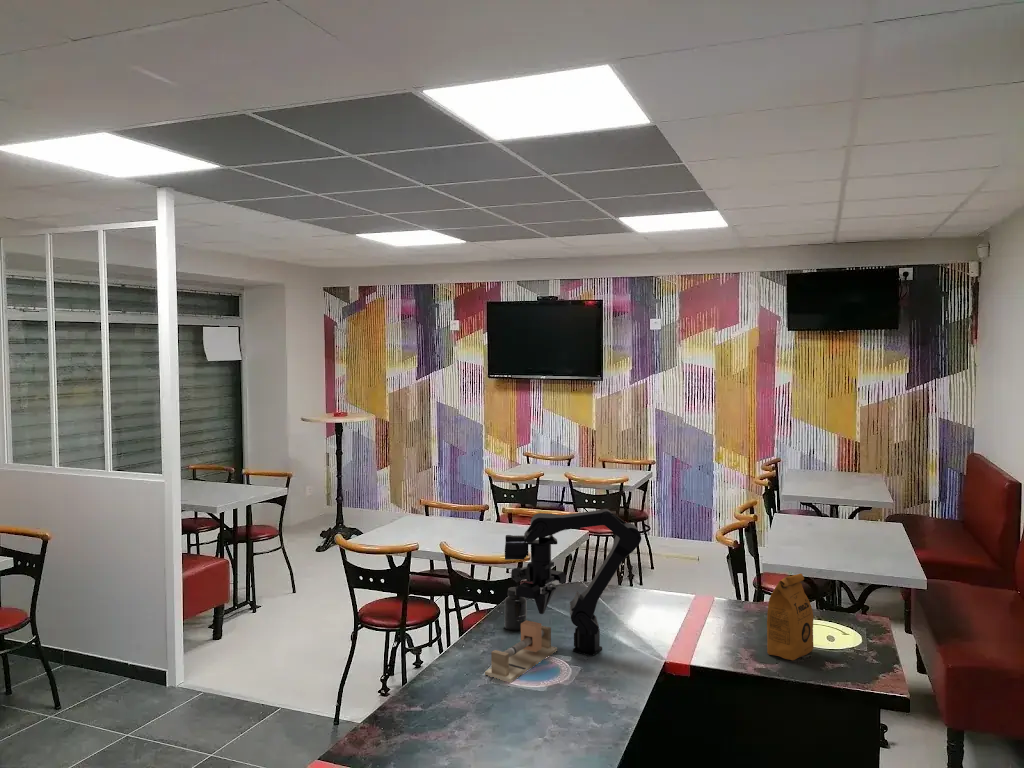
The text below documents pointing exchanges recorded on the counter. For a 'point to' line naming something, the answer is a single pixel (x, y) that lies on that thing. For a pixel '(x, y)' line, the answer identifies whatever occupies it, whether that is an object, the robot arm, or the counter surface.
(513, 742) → the counter surface
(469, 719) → the counter surface
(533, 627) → the brown block with hole
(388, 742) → the counter surface
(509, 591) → the supplement bottle
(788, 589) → the coffee package
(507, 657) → the pipe stand
